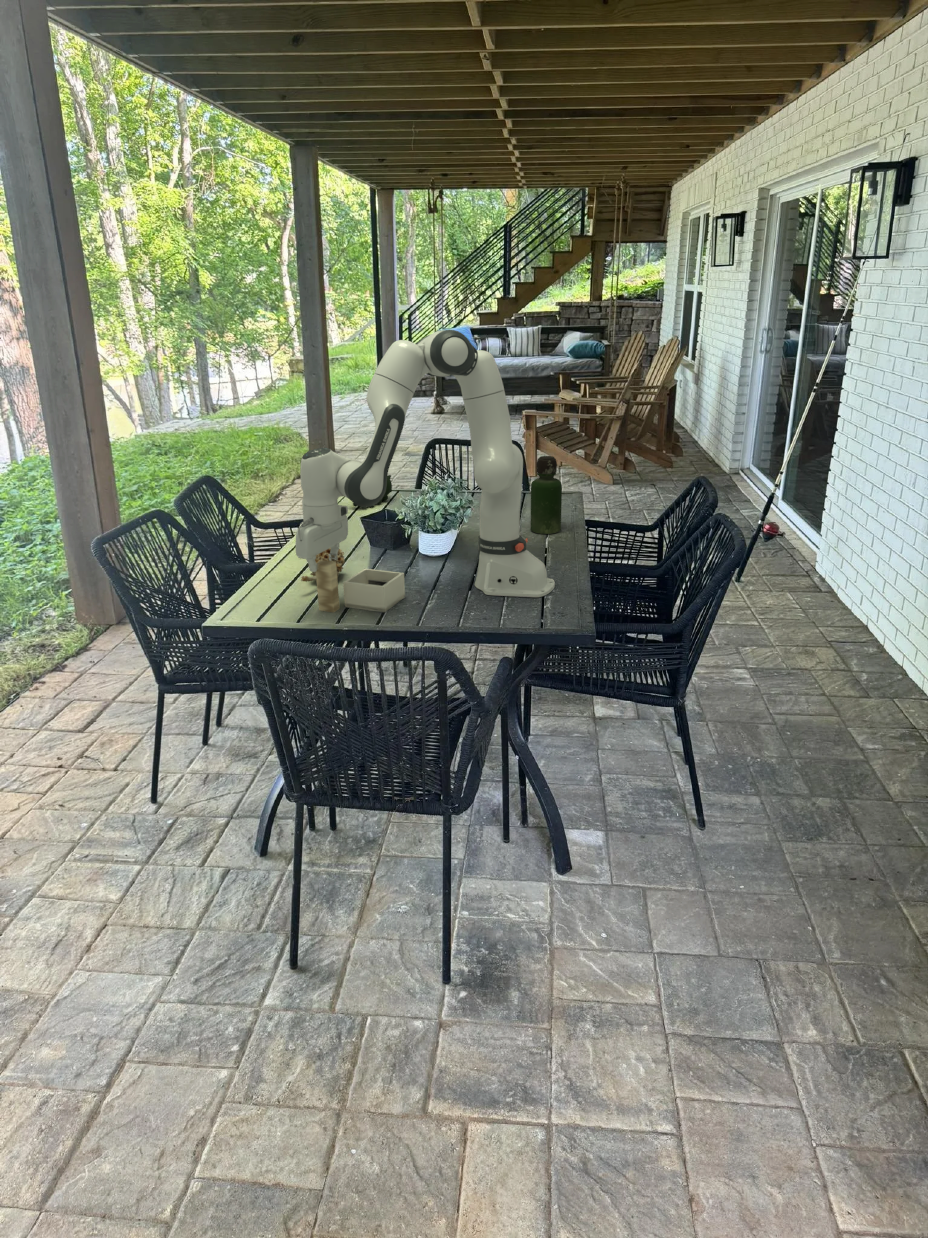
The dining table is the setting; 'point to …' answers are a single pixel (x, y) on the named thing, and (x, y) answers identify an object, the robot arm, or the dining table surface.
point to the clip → (376, 582)
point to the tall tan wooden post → (327, 586)
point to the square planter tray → (374, 590)
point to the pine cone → (325, 557)
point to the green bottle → (546, 498)
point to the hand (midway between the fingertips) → (324, 565)
